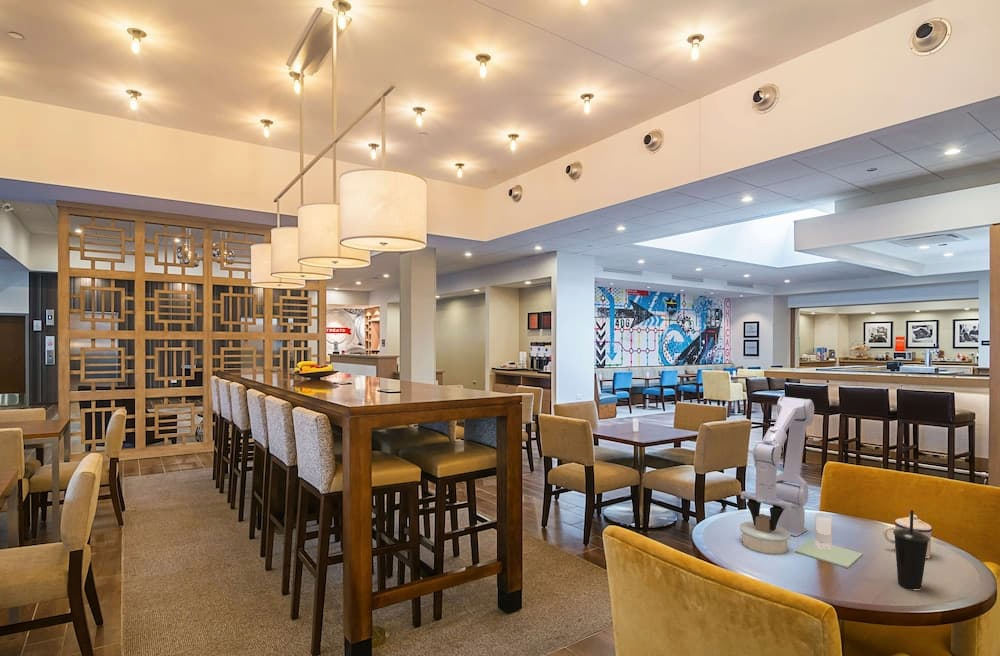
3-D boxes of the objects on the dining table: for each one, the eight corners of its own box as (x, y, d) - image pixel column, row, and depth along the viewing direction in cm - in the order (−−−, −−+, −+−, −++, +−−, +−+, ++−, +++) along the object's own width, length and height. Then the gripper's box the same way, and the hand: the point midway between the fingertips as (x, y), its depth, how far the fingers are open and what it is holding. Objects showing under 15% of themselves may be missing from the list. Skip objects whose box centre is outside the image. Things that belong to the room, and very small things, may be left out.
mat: (811, 540, 173) (811, 539, 173) (862, 555, 163) (862, 553, 163) (794, 552, 164) (794, 550, 164) (847, 568, 153) (847, 566, 153)
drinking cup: (930, 596, 138) (932, 517, 138) (892, 588, 142) (895, 511, 142) (926, 584, 145) (928, 509, 145) (890, 576, 149) (892, 503, 149)
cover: (751, 520, 178) (752, 506, 178) (797, 533, 168) (798, 518, 168) (731, 531, 169) (732, 515, 169) (779, 545, 158) (779, 529, 158)
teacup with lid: (924, 550, 168) (925, 512, 167) (936, 562, 159) (937, 522, 159) (878, 544, 172) (879, 507, 172) (887, 555, 163) (889, 516, 163)
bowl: (752, 534, 177) (753, 522, 177) (792, 546, 168) (793, 533, 168) (735, 544, 169) (735, 531, 169) (776, 557, 160) (777, 543, 160)
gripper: (736, 480, 171) (735, 523, 171) (785, 491, 160) (784, 537, 160) (746, 476, 176) (745, 518, 176) (794, 487, 165) (793, 531, 165)
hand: (764, 527), depth 168 cm, fingers open, 4 cm apart
